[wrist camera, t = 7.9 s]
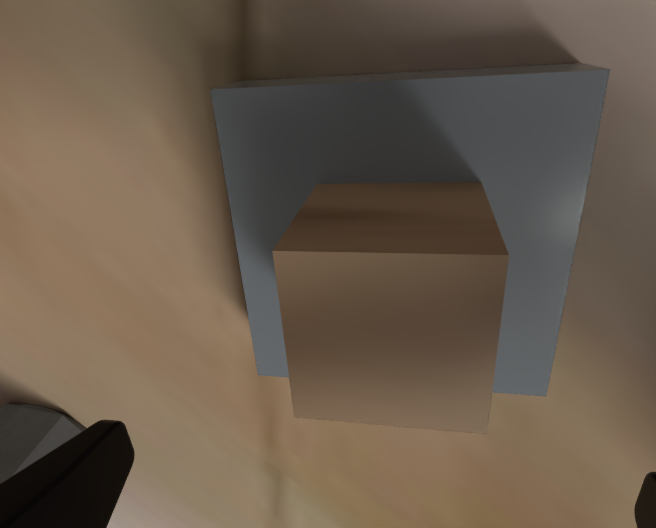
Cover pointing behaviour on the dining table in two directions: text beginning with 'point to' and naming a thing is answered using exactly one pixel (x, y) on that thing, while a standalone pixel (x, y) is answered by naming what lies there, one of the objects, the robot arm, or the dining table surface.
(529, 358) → the slate plinth
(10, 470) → the coffeepot
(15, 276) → the dining table surface
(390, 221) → the walnut cube
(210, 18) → the dining table surface
